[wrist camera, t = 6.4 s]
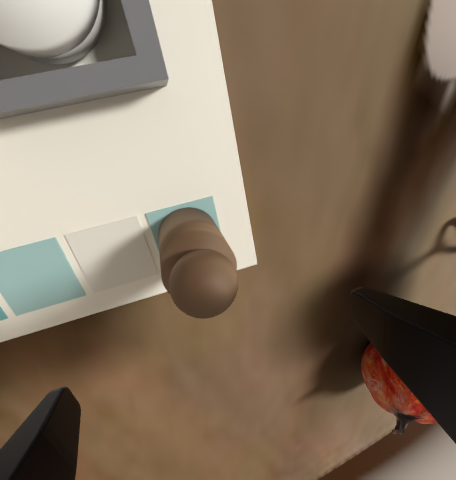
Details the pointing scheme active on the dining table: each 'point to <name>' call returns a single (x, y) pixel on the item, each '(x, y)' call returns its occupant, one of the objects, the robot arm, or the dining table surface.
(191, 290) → the pawn
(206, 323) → the dining table surface
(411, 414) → the pomegranate
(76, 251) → the board
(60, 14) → the dome
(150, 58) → the dome housing
